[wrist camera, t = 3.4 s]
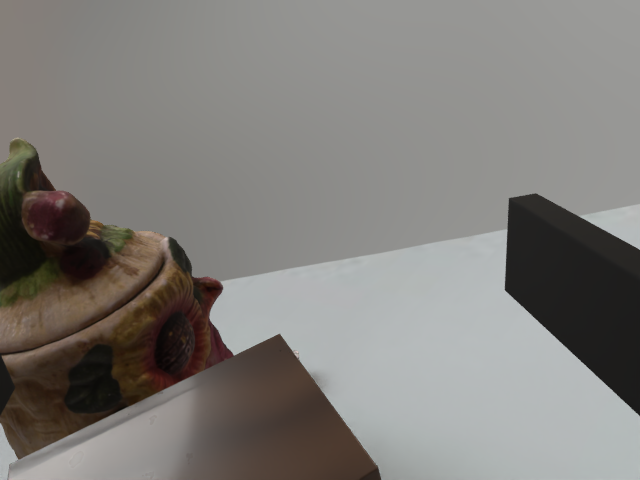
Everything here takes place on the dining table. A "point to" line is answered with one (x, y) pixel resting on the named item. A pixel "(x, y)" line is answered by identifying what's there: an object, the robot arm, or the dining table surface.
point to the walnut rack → (216, 430)
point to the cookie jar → (89, 310)
